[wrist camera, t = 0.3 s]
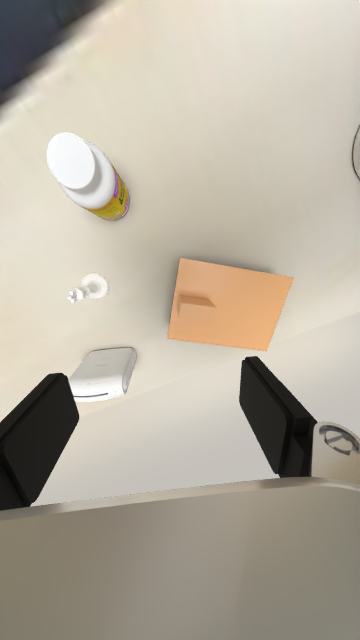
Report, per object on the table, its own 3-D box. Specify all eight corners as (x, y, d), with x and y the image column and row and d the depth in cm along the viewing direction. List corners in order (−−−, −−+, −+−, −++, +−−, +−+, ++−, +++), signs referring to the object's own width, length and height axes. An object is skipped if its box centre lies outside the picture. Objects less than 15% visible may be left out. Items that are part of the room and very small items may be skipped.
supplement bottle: (134, 217, 31) (113, 194, 19) (97, 224, 31) (52, 206, 19) (123, 170, 29) (91, 111, 17) (83, 178, 29) (22, 125, 17)
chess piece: (108, 273, 34) (85, 281, 25) (110, 299, 36) (89, 315, 27) (81, 272, 34) (47, 279, 25) (84, 298, 36) (54, 313, 26)
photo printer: (135, 345, 40) (121, 383, 28) (138, 362, 41) (126, 404, 30) (88, 349, 39) (54, 389, 28) (92, 366, 41) (62, 410, 29)
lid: (286, 276, 31) (317, 282, 25) (261, 346, 36) (282, 366, 29) (179, 257, 29) (182, 258, 23) (167, 333, 34) (167, 353, 27)
